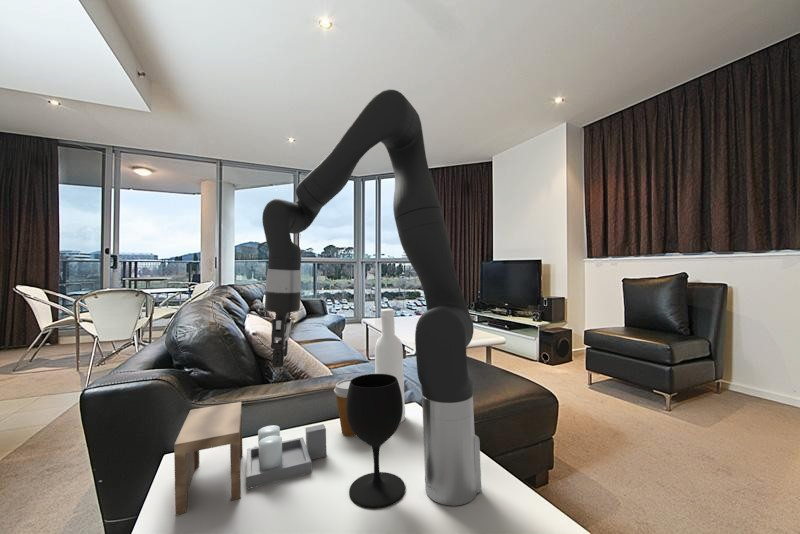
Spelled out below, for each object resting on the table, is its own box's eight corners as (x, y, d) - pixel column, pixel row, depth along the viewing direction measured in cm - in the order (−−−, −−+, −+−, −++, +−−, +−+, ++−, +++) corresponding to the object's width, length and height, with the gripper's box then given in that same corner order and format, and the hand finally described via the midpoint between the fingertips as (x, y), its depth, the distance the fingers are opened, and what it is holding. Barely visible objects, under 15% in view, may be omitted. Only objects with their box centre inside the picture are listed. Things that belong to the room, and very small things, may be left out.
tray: (320, 444, 82) (319, 414, 83) (331, 469, 71) (330, 434, 72) (247, 460, 76) (246, 428, 76) (246, 490, 65) (245, 452, 65)
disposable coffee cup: (349, 443, 82) (347, 392, 82) (328, 431, 89) (326, 383, 89) (380, 430, 88) (378, 382, 88) (358, 419, 95) (357, 375, 96)
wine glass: (399, 512, 57) (395, 390, 58) (340, 505, 59) (336, 388, 60) (410, 476, 67) (406, 372, 68) (359, 471, 70) (356, 371, 70)
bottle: (383, 412, 100) (380, 308, 101) (409, 415, 97) (405, 308, 98) (371, 423, 92) (368, 311, 93) (399, 427, 90) (395, 311, 90)
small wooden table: (242, 454, 78) (241, 401, 79) (240, 498, 62) (239, 432, 63) (191, 465, 74) (190, 409, 75) (175, 515, 58) (174, 444, 59)
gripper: (298, 293, 72) (295, 370, 72) (302, 287, 86) (299, 352, 86) (260, 291, 70) (256, 371, 70) (270, 286, 84) (267, 353, 84)
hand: (280, 361), depth 78 cm, fingers open, 8 cm apart
